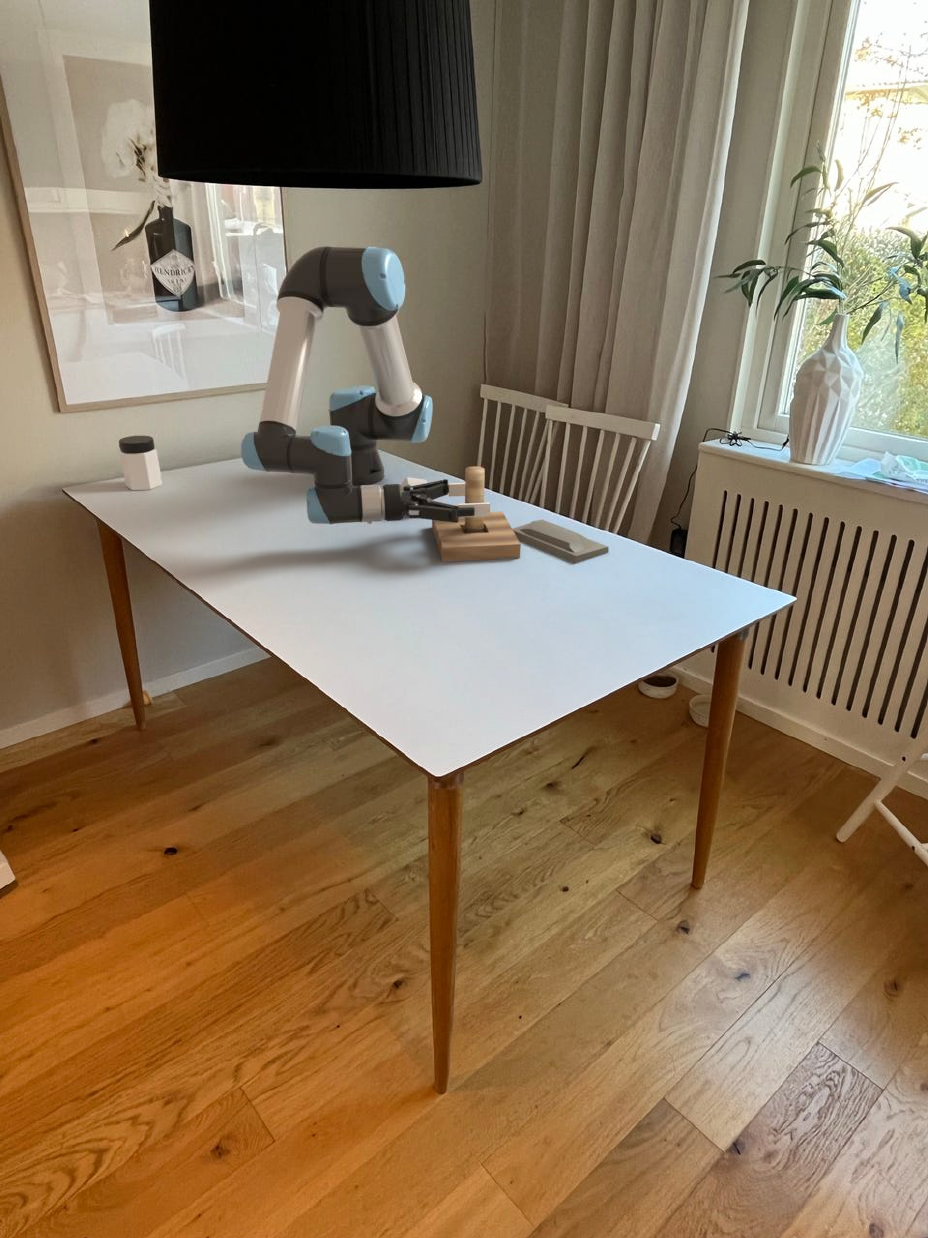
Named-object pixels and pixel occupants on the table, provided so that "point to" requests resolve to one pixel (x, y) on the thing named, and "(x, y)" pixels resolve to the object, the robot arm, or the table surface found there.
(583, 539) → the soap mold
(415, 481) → the die
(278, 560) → the table surface
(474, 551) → the board
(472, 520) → the oak leg
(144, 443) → the jar
